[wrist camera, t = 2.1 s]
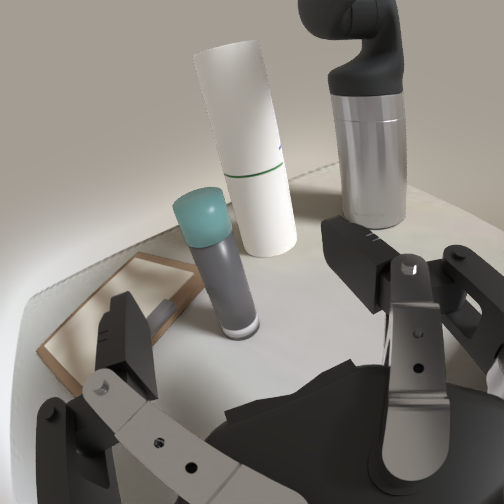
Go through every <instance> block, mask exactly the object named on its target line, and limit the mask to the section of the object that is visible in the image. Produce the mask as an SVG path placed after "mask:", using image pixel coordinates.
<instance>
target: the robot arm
mask: <svg viewBox="0 0 504 504" xmlns="http://www.w3.org/2000/svg"><path fill="white" fill-rule="evenodd" d="M298 10H299V15H300V18H301V21H302V23H303V25H304V26H305V28H306V29H307V30H308V31H309V32H310V33H311V34H313V35H314V36H316V37H318V38H321V39H327V40H349V39H362V50H361V52H360V53H359V55H358V56H356V57H355V58H354V59H353V60H351V61H350V62H348V63H346V64H344V65H342V66H340V67H337V68H335V69H334V70H332V71H331V72H330V73H329V74H328V84H329V90H330V95H331V102H332V107H333V114H334V122H335V129H336V137H337V146H338V155H339V165H340V175H341V186H342V200H343V213H344V216H345V218H346V219H347V220H348V221H350V222H351V224H350V223H349V222H348V221H346V220H345V219H344V218H342V217H341V216H339V215H338V216H335V217H332V218H329V219H326V220H324V221H322V222H321V232H322V242H323V252H324V257H325V260H326V262H327V264H328V265H329V267H330V268H331V269H332V270H333V271H334V272H335V273H336V274H337V275H338V276H339V277H340V279H341V280H342V281H343V282H344V283H345V284H346V285H347V286H348V287H349V288H350V289H351V291H352V292H353V293H354V294H355V295H356V296H357V297H358V298H359V299H360V301H361V302H362V303H363V304H364V305H365V306H366V307H367V308H368V310H369V311H370V312H371V313H372V314H375V313H377V312H379V311H381V310H383V311H384V312H385V313H386V314H385V327H384V344H383V357H382V364H381V365H375V364H373V365H361V366H355V365H354V363H353V362H352V360H351V359H349V360H347V361H345V362H343V363H341V364H339V365H337V366H335V367H333V368H331V369H329V370H326V371H324V372H322V373H321V374H319V375H318V376H317V377H315V378H314V379H313V380H311V381H310V382H309V383H307V384H306V385H305V386H303V387H302V388H301V389H299V390H298V391H297V392H295V393H293V394H290V395H285V396H279V397H273V398H267V399H260V400H255V401H252V402H250V403H247V404H244V405H241V406H239V407H236V408H233V409H230V410H227V411H224V413H225V416H226V419H227V421H225V422H224V423H222V424H221V425H219V426H218V427H217V428H216V429H215V430H214V431H213V432H212V433H210V435H209V436H208V437H207V438H206V440H205V441H203V440H202V439H200V438H199V437H197V436H196V435H194V434H193V433H191V432H190V431H189V430H187V429H186V428H184V427H183V426H182V425H180V424H179V423H177V422H176V421H175V420H173V419H172V418H171V417H169V416H168V415H167V414H165V413H164V412H163V411H162V410H160V409H159V408H158V407H156V406H155V405H154V404H153V403H151V402H150V401H151V400H155V399H158V394H157V387H156V379H155V370H154V361H153V351H152V340H151V331H150V327H149V324H148V322H147V320H146V318H145V316H144V314H143V313H142V311H141V309H140V308H139V306H138V304H137V303H136V301H135V299H134V297H133V296H132V294H131V293H130V292H129V291H126V292H123V293H121V294H118V295H115V296H113V297H111V300H110V310H109V312H106V313H104V314H103V316H102V318H101V320H100V322H99V326H98V335H97V346H96V358H95V372H93V373H92V374H91V375H90V376H89V377H88V378H87V379H86V381H85V383H84V385H83V391H82V392H83V393H82V394H81V395H80V396H78V397H76V398H75V399H73V400H71V401H70V402H68V403H65V402H64V401H63V400H61V399H60V398H57V397H53V398H50V399H48V400H47V401H45V402H44V403H43V404H42V406H41V407H40V409H39V411H38V415H37V427H36V486H37V500H38V504H121V499H120V494H119V489H118V484H117V479H116V473H115V467H114V461H113V454H112V446H114V445H115V444H117V443H119V442H121V444H122V445H123V446H124V447H125V448H126V449H127V450H128V451H129V452H130V453H132V454H133V455H134V456H135V457H136V458H137V459H138V460H139V461H140V462H141V463H142V464H143V465H144V466H145V467H146V468H147V469H149V470H150V471H151V472H152V473H153V474H154V475H155V476H156V477H158V478H159V479H160V480H161V481H162V482H163V483H165V484H166V485H167V486H168V487H169V488H171V489H172V490H173V491H174V492H176V493H177V494H178V495H179V496H178V498H177V500H176V502H175V504H504V276H502V275H501V274H500V273H499V272H498V271H497V270H495V269H494V268H493V267H492V266H491V265H489V264H488V263H487V262H486V261H485V260H483V259H482V258H481V257H480V256H478V255H477V254H476V253H475V252H473V251H472V250H471V249H469V248H467V247H465V246H462V245H451V246H448V247H446V248H445V250H444V252H443V258H442V259H439V260H434V261H428V262H426V261H425V260H424V259H423V258H421V257H420V256H417V255H414V254H400V253H398V252H397V251H396V250H395V249H393V248H392V247H391V246H389V245H388V244H387V243H386V242H384V241H383V240H382V239H379V237H378V236H377V235H375V234H373V233H372V232H371V231H370V230H369V229H367V228H373V229H378V228H387V227H391V226H394V225H396V224H398V223H400V222H401V221H402V220H403V219H404V217H405V213H406V189H407V148H406V124H405V123H406V122H405V109H404V96H403V86H402V79H403V72H404V56H403V48H402V39H401V30H400V22H399V15H398V9H397V5H396V1H395V0H298ZM467 293H468V294H469V295H470V296H471V297H472V298H473V299H474V300H475V301H476V302H477V303H478V304H479V305H480V307H481V310H482V315H481V314H480V313H479V312H478V311H477V310H476V309H475V308H474V307H473V306H472V305H471V304H470V303H469V302H468V301H467V300H466V296H467ZM442 323H443V324H444V326H445V327H446V328H447V329H448V330H449V331H450V332H451V333H452V335H453V336H454V337H455V338H456V339H457V340H458V342H459V343H460V344H461V345H462V346H463V347H464V349H465V350H466V351H467V352H468V353H469V355H470V356H471V357H472V358H473V359H474V361H475V362H476V363H477V364H478V365H479V367H480V368H481V369H482V370H483V372H484V373H485V374H486V375H487V377H486V382H487V386H488V391H487V393H485V392H481V391H477V390H473V389H469V388H465V387H461V386H457V385H453V384H449V383H446V370H445V353H444V341H443V330H442Z"/></svg>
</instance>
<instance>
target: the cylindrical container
mask: <svg viewBox="0 0 504 504" xmlns="http://www.w3.org/2000/svg"><path fill="white" fill-rule="evenodd" d="M192 57H193V61H194V64H195V68H196V72H197V76H198V79H199V84H200V87H201V91H202V95H203V98H204V102H205V106H206V110H207V113H208V117H209V121H210V124H211V128H212V132H213V135H214V139H215V143H216V146H217V150H218V154H219V157H220V161H221V165H222V168H223V172H224V176H225V179H226V183H227V186H228V190H229V194H230V198H231V201H232V205H233V209H234V212H235V216H236V219H237V223H238V227H239V230H240V234H241V238H242V241H243V245H244V248H245V250H246V252H247V253H249V254H250V255H252V256H255V257H273V256H277V255H280V254H283V253H285V252H287V251H288V250H290V249H291V248H292V247H293V246H294V245H295V243H296V241H297V233H296V227H295V221H294V215H293V209H292V203H291V197H290V191H289V185H288V180H287V174H286V169H285V164H284V158H283V153H282V147H281V142H280V137H279V132H278V127H277V122H276V117H275V112H274V107H273V103H272V98H271V93H270V89H269V84H268V79H267V75H266V71H265V66H264V62H263V58H262V53H261V49H260V45H259V41H258V40H253V41H245V42H239V43H234V44H228V45H224V46H219V47H216V48H212V49H208V50H205V51H202V52H199V53H196V54H194V55H192Z"/></svg>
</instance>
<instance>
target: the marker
mask: <svg viewBox="0 0 504 504" xmlns="http://www.w3.org/2000/svg"><path fill="white" fill-rule="evenodd" d="M173 210H174V213H175V215H176V218H177V221H178V223H179V226H180V229H181V231H182V234H183V236H184V239H185V242H186V243H187V245H188V246H189V248H190V251H191V253H192V256H193V258H194V261H195V263H196V266H197V268H198V271H199V273H200V276H201V278H202V281H203V283H204V285H205V288H206V290H207V293H208V295H209V297H210V300H211V302H212V305H213V307H214V309H215V312H216V314H217V316H218V319H219V321H220V325H221V327H222V329H223V331H224V333H225V334H226V336H227V337H228V338H230V339H232V340H238V341H239V340H245V339H248V338H250V337H252V336H253V335H254V334H255V333H256V332H257V331H258V329H259V325H260V323H259V317H258V314H257V311H256V308H255V306H254V302H253V299H252V296H251V292H250V289H249V286H248V282H247V279H246V276H245V272H244V269H243V266H242V262H241V259H240V255H239V252H238V249H237V245H236V242H235V238H234V235H233V232H232V223H231V220H230V216H229V213H228V210H227V206H226V203H225V199H224V196H223V192H222V190H221V189H220V188H217V187H206V188H201V189H197V190H194V191H191V192H189V193H187V194H185V195H183V196H181V197H180V198H178V200H176V201H175V202H174V204H173Z"/></svg>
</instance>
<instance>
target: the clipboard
mask: <svg viewBox="0 0 504 504" xmlns="http://www.w3.org/2000/svg"><path fill="white" fill-rule="evenodd" d="M204 287H205V285H204V283H203V281H202V278H201V276H200V273H199V271H198V268H197V266H196V265H193V264H189V263H184V262H180V261H176V260H171V259H167V258H163V257H159V256H154V255H150V254H146V253H142V252H138V253H137V254H135V255H134V256H133V257H132V258H131V259H130V260H129V261H128V262H126V263H125V264H124V265H123V266H122V267H121V268H120V269H119V270H118V271H116V272H115V273H114V274H113V275H112V276H111V277H110V278H109V279H108V280H107V281H106V282H105V283H103V284H102V285H101V286H100V287H99V288H98V289H97V290H96V291H95V292H94V293H93V294H92V295H91V296H90V297H89V298H88V299H87V300H86V301H85V302H84V303H82V304H81V305H80V306H79V307H78V308H77V309H76V310H75V311H74V312H73V313H72V314H71V315H70V316H69V317H68V318H67V319H66V320H65V321H64V322H63V323H62V324H61V325H60V326H59V327H58V328H57V329H56V330H55V331H54V332H53V333H52V334H51V336H50V337H49V338H48V339H47V340H46V341H45V342H44V343H43V344H42V345H41V346H40V347H39V348H38V349H37V350H36V352H37V354H38V355H39V356H40V358H41V359H42V360H43V361H44V362H45V364H46V365H47V366H48V367H49V368H50V370H51V371H52V372H53V373H54V374H55V375H56V377H57V378H58V379H59V380H60V381H61V382H62V383H63V384H64V386H65V387H66V388H67V389H68V390H69V391H70V392H71V393H72V394H73V395H74V396H75V397H78V396H80V395H81V394H82V393H83V392H82V391H83V385H84V383H85V381H86V379H87V378H88V377H89V376H90V375H91V374H92V373H93V372H95V358H96V346H97V335H98V326H99V322H100V320H101V318H102V316H103V314H104V313H106V312H109V310H110V300H111V297H113V296H115V295H118V294H121V293H123V292H126V291H129V292H130V293H131V294H132V296H133V297H134V299H135V301H136V303H137V304H138V306H139V308H140V309H141V311H142V313H143V314H144V316H145V318H146V320H147V322H148V324H149V327H150V331H151V340H152V346H153V345H154V344H155V343H156V342H157V341H158V339H159V338H160V337H161V336H162V335H163V334H164V332H165V331H166V330H167V329H168V328H169V327H170V326H171V324H172V323H173V322H174V321H175V320H176V319H177V318H178V316H179V315H180V314H181V313H182V312H183V311H184V310H185V308H186V307H187V306H188V305H189V304H190V303H191V302H192V300H193V299H194V298H195V297H196V296H197V295H198V294H199V293H200V291H201V290H202V289H203V288H204Z"/></svg>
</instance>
